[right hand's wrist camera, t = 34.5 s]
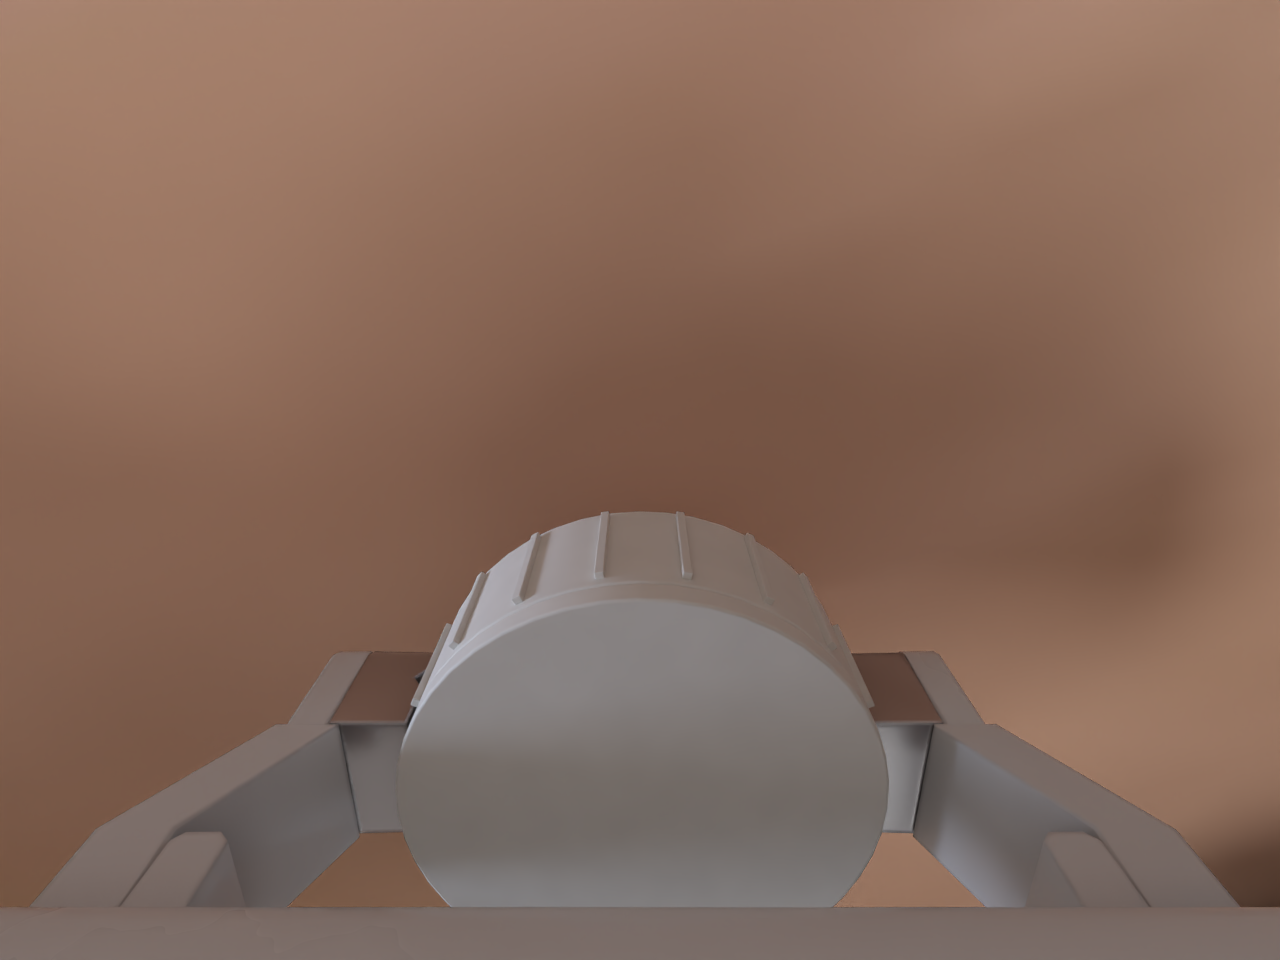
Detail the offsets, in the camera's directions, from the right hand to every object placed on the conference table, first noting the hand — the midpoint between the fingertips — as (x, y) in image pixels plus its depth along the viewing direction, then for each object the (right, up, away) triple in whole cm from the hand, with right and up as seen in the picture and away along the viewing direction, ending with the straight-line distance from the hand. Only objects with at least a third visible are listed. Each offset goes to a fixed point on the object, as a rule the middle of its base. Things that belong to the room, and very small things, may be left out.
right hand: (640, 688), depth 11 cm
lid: (0, -1, -2) cm, 2 cm away
